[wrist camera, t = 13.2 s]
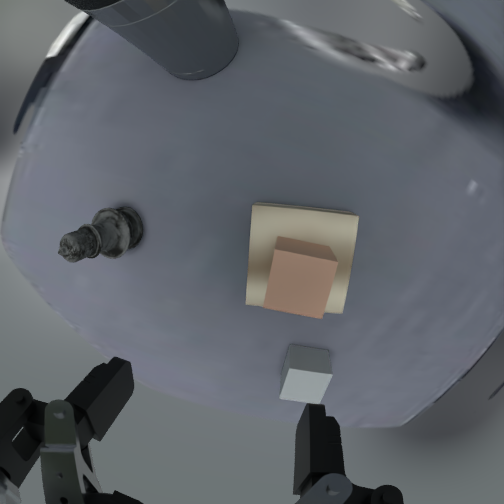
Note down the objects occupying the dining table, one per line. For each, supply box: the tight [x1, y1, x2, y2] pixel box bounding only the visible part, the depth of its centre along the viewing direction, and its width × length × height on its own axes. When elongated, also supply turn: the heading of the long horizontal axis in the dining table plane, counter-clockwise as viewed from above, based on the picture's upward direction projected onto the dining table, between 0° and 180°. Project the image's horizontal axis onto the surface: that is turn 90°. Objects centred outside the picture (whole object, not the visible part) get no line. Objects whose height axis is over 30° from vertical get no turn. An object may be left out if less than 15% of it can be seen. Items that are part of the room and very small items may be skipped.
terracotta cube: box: [263, 236, 338, 319], centre depth 24 cm, size 5×5×5 cm
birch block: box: [246, 202, 359, 314], centre depth 28 cm, size 10×10×4 cm
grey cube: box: [279, 344, 333, 404], centre depth 31 cm, size 5×5×5 cm
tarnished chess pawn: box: [58, 207, 143, 262], centre depth 26 cm, size 6×6×12 cm
